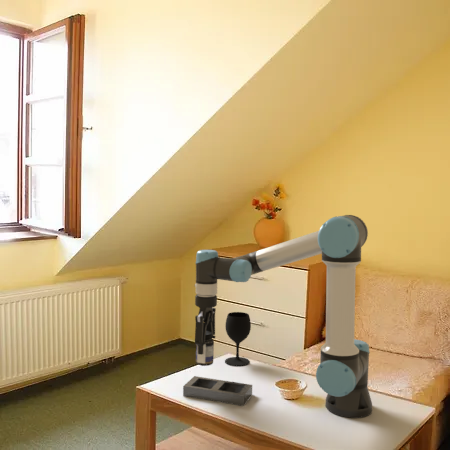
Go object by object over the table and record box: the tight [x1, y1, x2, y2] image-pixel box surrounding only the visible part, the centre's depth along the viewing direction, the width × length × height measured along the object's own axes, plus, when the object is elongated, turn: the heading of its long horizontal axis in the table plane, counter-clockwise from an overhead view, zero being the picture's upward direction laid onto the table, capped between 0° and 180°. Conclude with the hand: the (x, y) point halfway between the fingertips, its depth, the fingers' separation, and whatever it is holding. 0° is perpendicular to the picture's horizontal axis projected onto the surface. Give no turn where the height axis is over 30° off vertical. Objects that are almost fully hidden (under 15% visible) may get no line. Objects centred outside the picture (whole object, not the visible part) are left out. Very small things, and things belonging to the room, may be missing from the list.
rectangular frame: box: [182, 375, 253, 407], centre depth 183 cm, size 22×10×4 cm, turn 71°
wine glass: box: [224, 311, 252, 367], centre depth 216 cm, size 10×10×20 cm
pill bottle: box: [195, 331, 215, 367], centre depth 183 cm, size 6×6×11 cm
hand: (204, 359), depth 183 cm, fingers closed on pill bottle, 6 cm apart
